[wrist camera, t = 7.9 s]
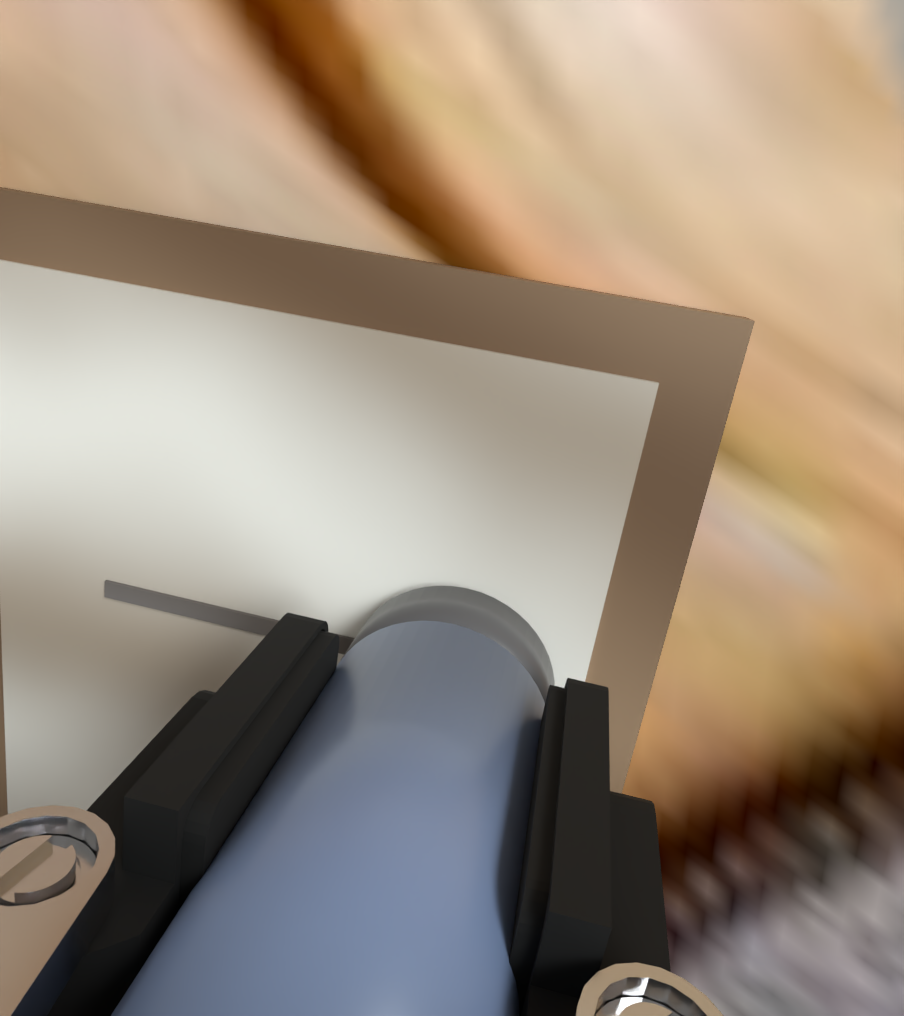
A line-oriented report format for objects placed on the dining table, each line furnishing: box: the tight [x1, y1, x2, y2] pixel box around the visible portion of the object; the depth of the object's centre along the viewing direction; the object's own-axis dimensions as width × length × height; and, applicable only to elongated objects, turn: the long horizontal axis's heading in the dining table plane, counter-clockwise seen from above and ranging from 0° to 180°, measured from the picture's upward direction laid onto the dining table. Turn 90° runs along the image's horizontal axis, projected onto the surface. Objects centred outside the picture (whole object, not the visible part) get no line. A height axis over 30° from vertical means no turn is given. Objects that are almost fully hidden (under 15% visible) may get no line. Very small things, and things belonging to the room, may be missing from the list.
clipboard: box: [0, 187, 754, 817], centre depth 14 cm, size 16×12×1 cm
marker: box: [111, 586, 555, 1016], centre depth 8 cm, size 3×3×8 cm
